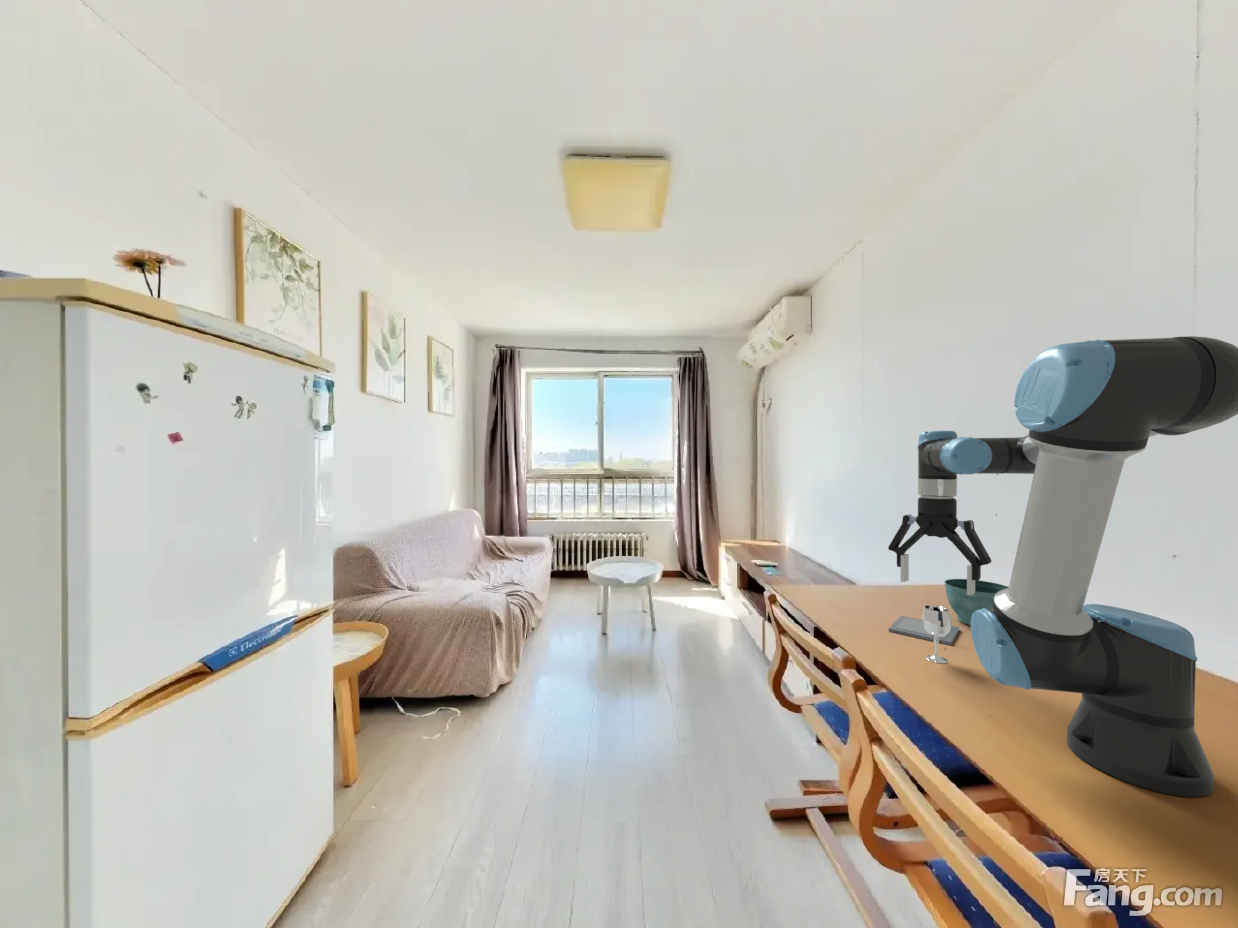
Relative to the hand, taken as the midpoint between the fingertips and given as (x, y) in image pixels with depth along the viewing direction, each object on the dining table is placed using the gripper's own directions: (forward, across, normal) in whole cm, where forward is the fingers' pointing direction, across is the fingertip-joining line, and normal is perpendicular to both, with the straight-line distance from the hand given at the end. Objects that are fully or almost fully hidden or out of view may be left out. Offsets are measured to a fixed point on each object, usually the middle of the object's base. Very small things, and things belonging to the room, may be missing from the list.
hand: (936, 587), depth 109 cm
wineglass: (+17, 0, 0) cm, 17 cm away
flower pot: (+17, +2, -37) cm, 41 cm away
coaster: (+17, +9, -18) cm, 26 cm away
